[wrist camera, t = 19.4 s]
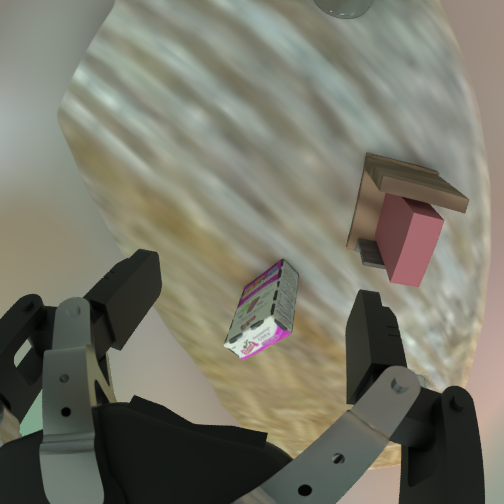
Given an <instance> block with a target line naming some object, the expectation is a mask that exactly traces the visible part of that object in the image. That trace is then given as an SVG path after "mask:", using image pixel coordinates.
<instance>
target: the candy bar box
mask: <svg viewBox="0 0 504 504" xmlns="http://www.w3.org/2000/svg"><path fill="white" fill-rule="evenodd" d="M298 277H299V274H298V273H297V272H296V271H295V270H294V269H293V268H291V267H290V265H289V264H288V263H287V262H286V261H285V260H284V259H282V260H280V261H279V262H278V263H277V264H275V265H274V266H273V267H271V268H270V269H269V270H267V271H266V272H265V273H264V274H262V275H261V276H260V277H258V278H257V279H256V280H254V281H253V282H252V283H250V284H249V285H248V286H246V287H245V288H244V290H243V293H242V296H241V299H240V301H239V304H238V307H237V310H236V313H235V315H234V318H233V321H232V323H231V326H230V329H229V332H228V334H227V337H226V340H225V343H224V346H225V347H226V348H228V349H229V350H231V351H232V352H233V353H234V354H236V355H238V357H239V358H241V359H242V360H245V359H247V358H249V357H251V356H253V355H255V354H257V353H258V352H260V351H262V350H264V349H266V348H268V347H270V346H271V345H273V344H275V343H277V342H279V341H280V340H282V339H284V338H286V337H288V336H289V335H291V334H292V329H293V320H294V312H295V303H296V295H297V286H298Z"/></svg>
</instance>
